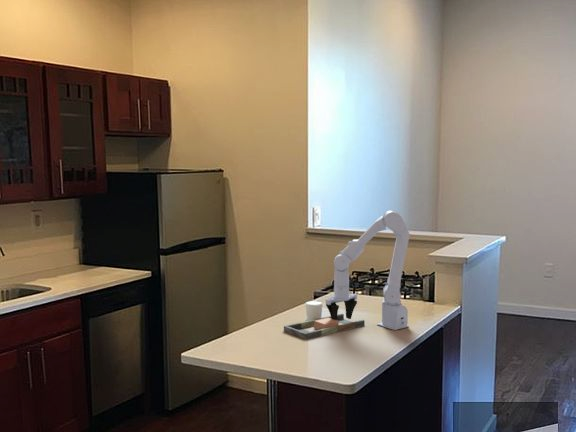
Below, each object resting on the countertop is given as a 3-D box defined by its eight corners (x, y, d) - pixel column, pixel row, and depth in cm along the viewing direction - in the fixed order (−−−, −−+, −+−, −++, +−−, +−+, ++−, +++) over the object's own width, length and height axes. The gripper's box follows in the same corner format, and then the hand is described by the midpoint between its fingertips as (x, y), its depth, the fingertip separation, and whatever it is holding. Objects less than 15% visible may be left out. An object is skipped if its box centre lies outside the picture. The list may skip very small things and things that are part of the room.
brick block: (338, 328, 230) (338, 321, 230) (324, 332, 226) (324, 324, 226) (328, 325, 235) (328, 317, 235) (314, 328, 231) (314, 320, 231)
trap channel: (364, 325, 234) (364, 320, 234) (305, 339, 217) (305, 333, 216) (342, 318, 244) (342, 313, 244) (283, 331, 227) (283, 326, 227)
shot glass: (321, 322, 239) (321, 305, 238) (304, 321, 240) (303, 304, 239) (323, 318, 245) (323, 301, 245) (307, 317, 247) (306, 300, 246)
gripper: (348, 281, 242) (348, 314, 243) (320, 286, 233) (320, 321, 234) (360, 284, 236) (360, 318, 237) (332, 289, 227) (332, 324, 229)
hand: (341, 320), depth 235 cm, fingers open, 7 cm apart
